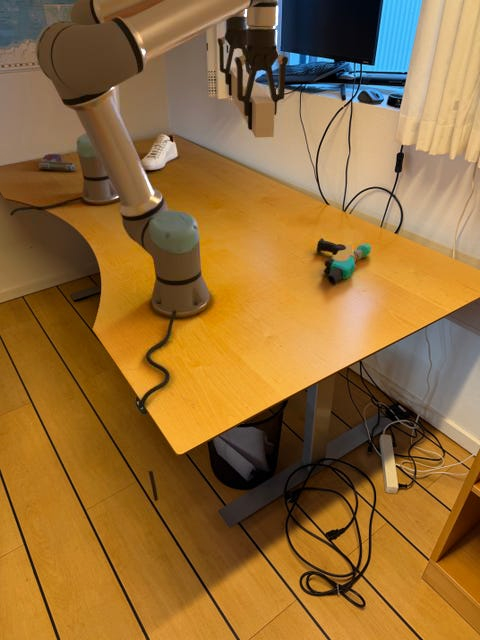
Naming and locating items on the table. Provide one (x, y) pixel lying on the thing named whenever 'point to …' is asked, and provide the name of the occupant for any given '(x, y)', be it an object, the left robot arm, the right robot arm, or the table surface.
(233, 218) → the table surface
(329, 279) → the toy gun
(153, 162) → the sneaker
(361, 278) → the table surface
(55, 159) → the toy gun
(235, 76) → the beam
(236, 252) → the table surface
